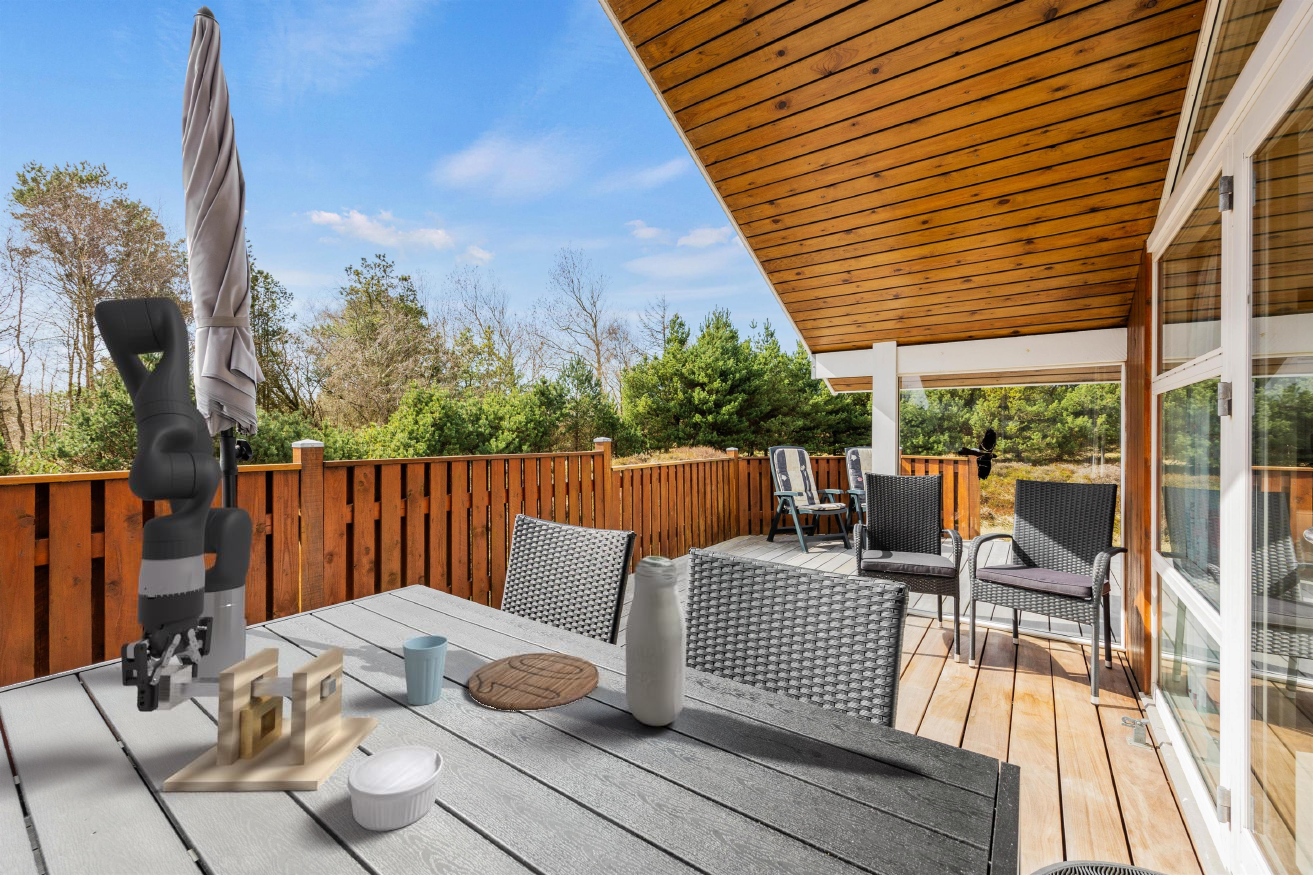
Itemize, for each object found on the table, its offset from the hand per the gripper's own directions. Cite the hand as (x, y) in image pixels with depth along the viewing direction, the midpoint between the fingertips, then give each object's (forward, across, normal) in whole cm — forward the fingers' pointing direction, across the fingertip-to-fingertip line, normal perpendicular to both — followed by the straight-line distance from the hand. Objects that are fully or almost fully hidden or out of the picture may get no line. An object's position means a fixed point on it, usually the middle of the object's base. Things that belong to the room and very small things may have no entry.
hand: (168, 699), depth 84 cm
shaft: (+1, 0, +11) cm, 11 cm away
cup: (+8, -19, +31) cm, 37 cm away
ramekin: (+9, +13, +39) cm, 42 cm away
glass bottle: (+8, -10, +73) cm, 74 cm away
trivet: (+9, -26, +50) cm, 57 cm away
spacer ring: (+3, 0, +14) cm, 14 cm away
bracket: (+8, 0, +17) cm, 19 cm away
